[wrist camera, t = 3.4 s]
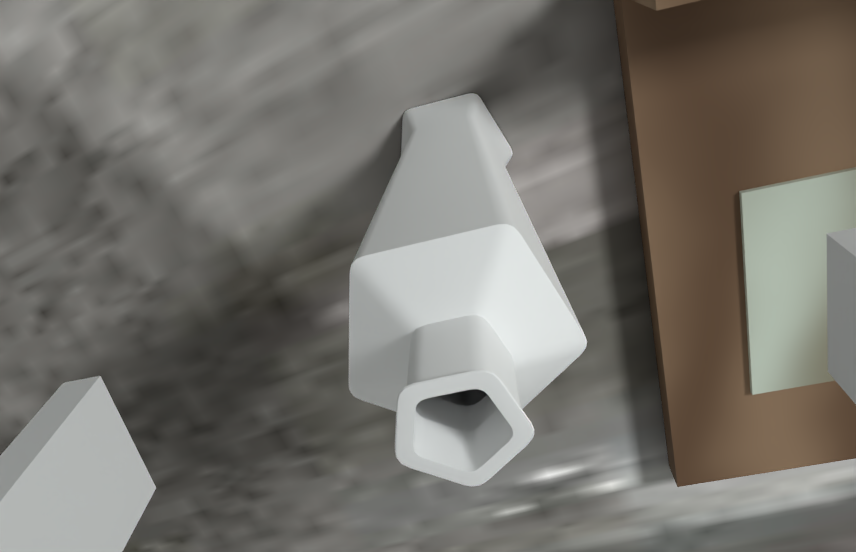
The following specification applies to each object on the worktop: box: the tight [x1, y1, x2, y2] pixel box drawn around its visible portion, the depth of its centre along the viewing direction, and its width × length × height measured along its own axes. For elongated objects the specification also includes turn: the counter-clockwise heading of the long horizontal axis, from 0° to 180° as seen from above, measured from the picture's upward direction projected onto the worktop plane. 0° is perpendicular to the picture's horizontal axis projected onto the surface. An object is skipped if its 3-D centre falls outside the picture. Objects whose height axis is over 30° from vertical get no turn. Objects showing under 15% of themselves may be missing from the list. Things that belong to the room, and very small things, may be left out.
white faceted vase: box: [349, 93, 587, 486], centre depth 18 cm, size 5×4×15 cm
